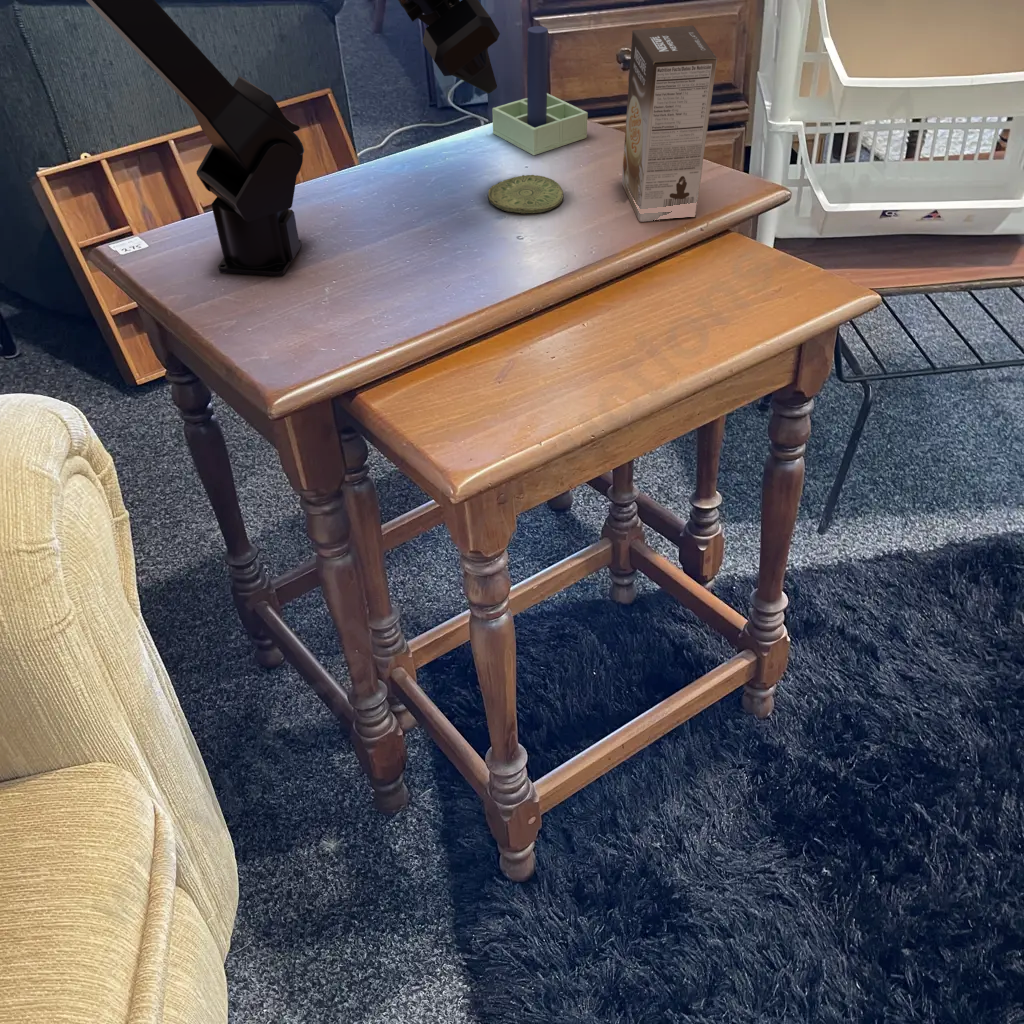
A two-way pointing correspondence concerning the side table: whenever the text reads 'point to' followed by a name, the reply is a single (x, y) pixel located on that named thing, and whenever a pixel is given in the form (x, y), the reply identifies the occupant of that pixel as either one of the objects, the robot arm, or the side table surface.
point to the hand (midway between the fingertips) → (476, 66)
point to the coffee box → (666, 117)
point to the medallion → (526, 194)
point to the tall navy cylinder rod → (537, 75)
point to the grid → (559, 130)
